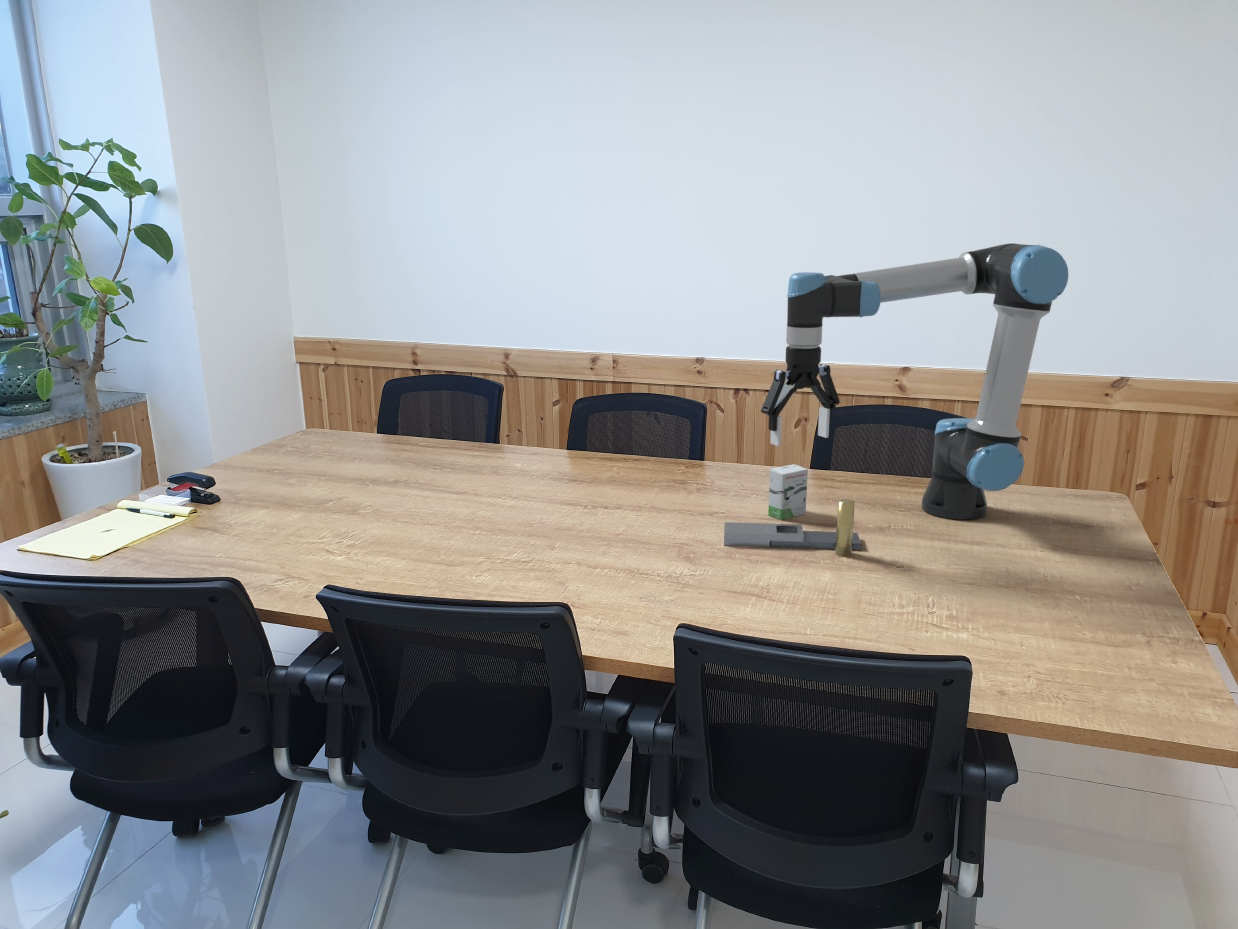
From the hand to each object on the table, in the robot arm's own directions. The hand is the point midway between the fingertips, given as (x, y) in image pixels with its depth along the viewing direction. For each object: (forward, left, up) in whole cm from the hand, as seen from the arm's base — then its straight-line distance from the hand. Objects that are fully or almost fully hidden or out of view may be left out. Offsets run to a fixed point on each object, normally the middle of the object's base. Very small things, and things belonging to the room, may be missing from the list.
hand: (799, 440), depth 203 cm
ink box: (+1, -15, -23) cm, 28 cm away
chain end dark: (-4, +4, -23) cm, 23 cm away
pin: (-10, +10, -23) cm, 27 cm away
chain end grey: (+7, +4, -23) cm, 24 cm away
